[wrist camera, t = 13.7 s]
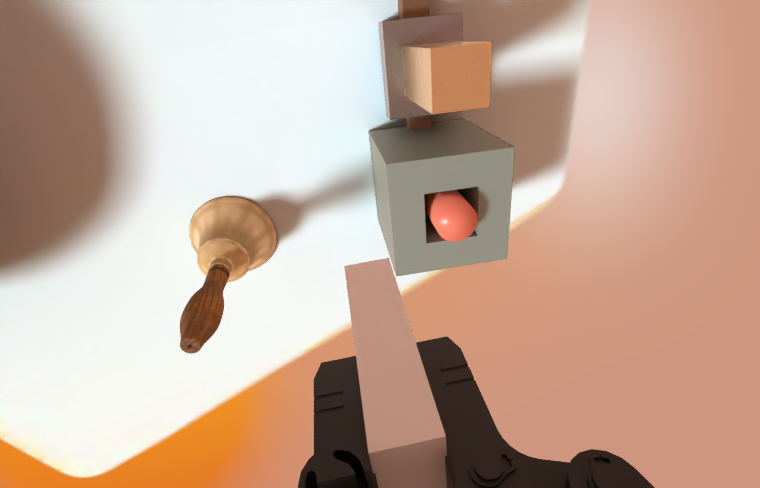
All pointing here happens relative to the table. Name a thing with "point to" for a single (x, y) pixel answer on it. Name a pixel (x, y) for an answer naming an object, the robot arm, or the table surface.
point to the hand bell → (223, 260)
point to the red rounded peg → (450, 214)
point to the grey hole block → (437, 174)
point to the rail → (409, 6)
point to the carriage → (433, 67)
